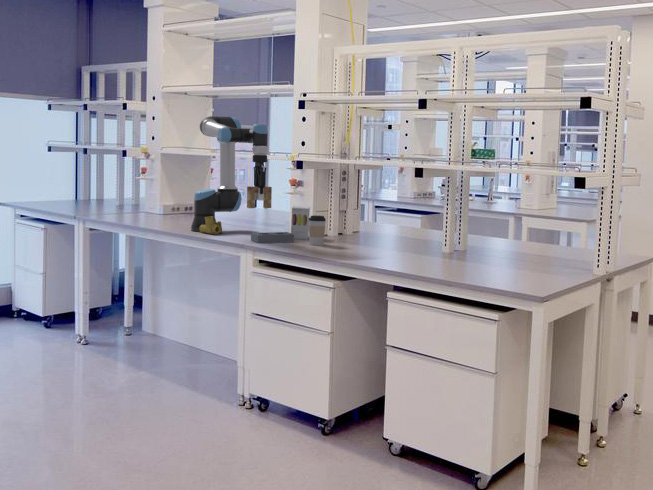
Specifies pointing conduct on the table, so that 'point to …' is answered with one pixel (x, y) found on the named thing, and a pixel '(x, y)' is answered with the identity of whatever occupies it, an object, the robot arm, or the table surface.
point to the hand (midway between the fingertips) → (259, 199)
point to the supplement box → (300, 222)
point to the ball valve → (211, 226)
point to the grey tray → (272, 237)
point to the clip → (251, 197)
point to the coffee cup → (316, 230)
